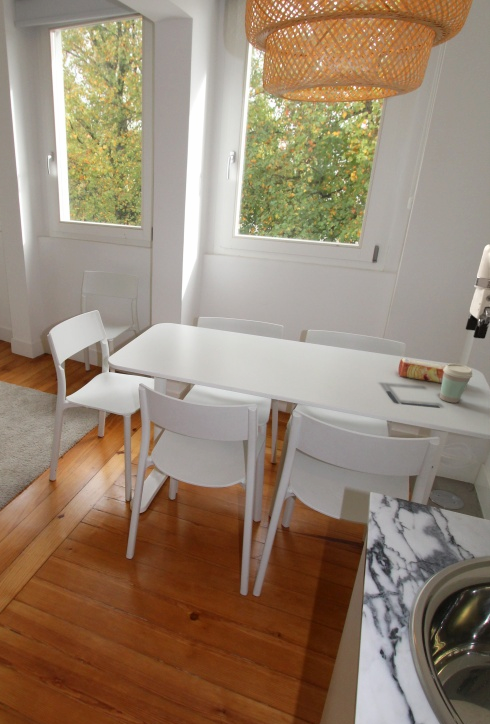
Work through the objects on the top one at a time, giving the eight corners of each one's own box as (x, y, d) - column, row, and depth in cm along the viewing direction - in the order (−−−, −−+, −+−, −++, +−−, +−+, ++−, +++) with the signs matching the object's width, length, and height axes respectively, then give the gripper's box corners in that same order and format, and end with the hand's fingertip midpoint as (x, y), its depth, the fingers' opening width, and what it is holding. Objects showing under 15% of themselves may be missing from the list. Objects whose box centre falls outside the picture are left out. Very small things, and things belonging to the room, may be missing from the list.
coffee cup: (463, 397, 165) (473, 366, 160) (463, 407, 159) (474, 375, 154) (435, 391, 169) (445, 360, 164) (434, 400, 163) (444, 369, 158)
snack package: (458, 381, 179) (463, 365, 176) (461, 388, 173) (466, 372, 170) (396, 371, 186) (401, 355, 183) (397, 377, 181) (401, 361, 178)
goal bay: (439, 407, 158) (439, 407, 157) (394, 404, 160) (394, 403, 160) (421, 388, 173) (422, 387, 173) (381, 385, 175) (381, 384, 175)
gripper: (511, 289, 143) (495, 342, 149) (493, 279, 158) (480, 328, 164) (483, 287, 145) (468, 339, 151) (468, 278, 160) (455, 326, 167)
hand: (474, 333), depth 158 cm, fingers open, 9 cm apart
